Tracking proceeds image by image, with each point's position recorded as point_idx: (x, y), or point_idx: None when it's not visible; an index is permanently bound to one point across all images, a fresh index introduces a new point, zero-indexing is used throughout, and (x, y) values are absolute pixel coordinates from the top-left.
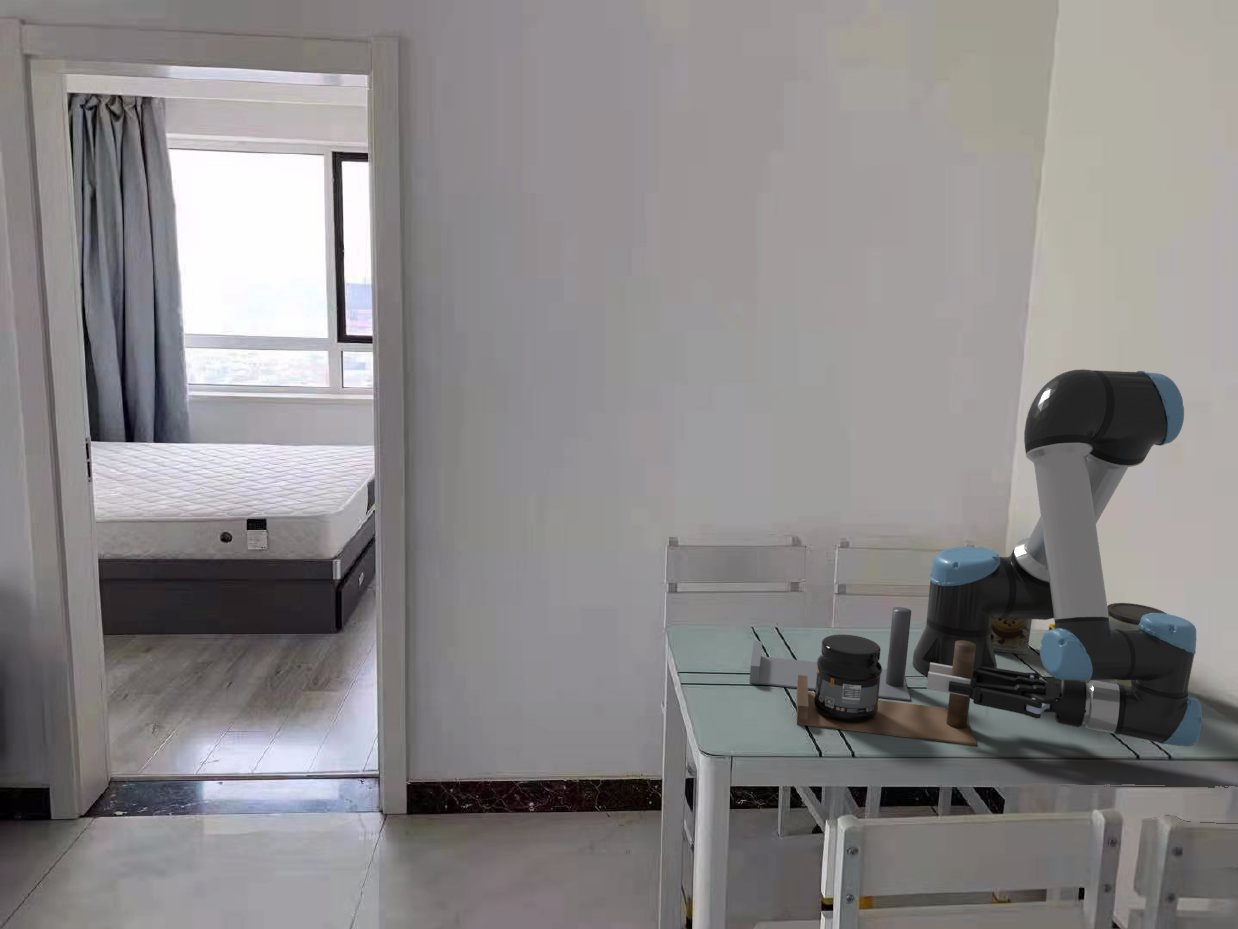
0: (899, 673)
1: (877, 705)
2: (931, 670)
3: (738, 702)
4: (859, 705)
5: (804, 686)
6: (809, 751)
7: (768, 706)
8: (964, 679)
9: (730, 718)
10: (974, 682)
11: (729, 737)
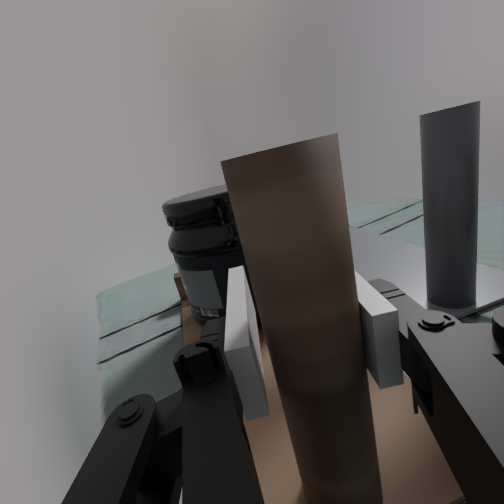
0: (438, 276)
1: None
2: None
3: None
4: (189, 298)
5: None
6: (105, 330)
7: None
8: (227, 331)
9: (177, 272)
10: (179, 367)
11: (133, 286)
